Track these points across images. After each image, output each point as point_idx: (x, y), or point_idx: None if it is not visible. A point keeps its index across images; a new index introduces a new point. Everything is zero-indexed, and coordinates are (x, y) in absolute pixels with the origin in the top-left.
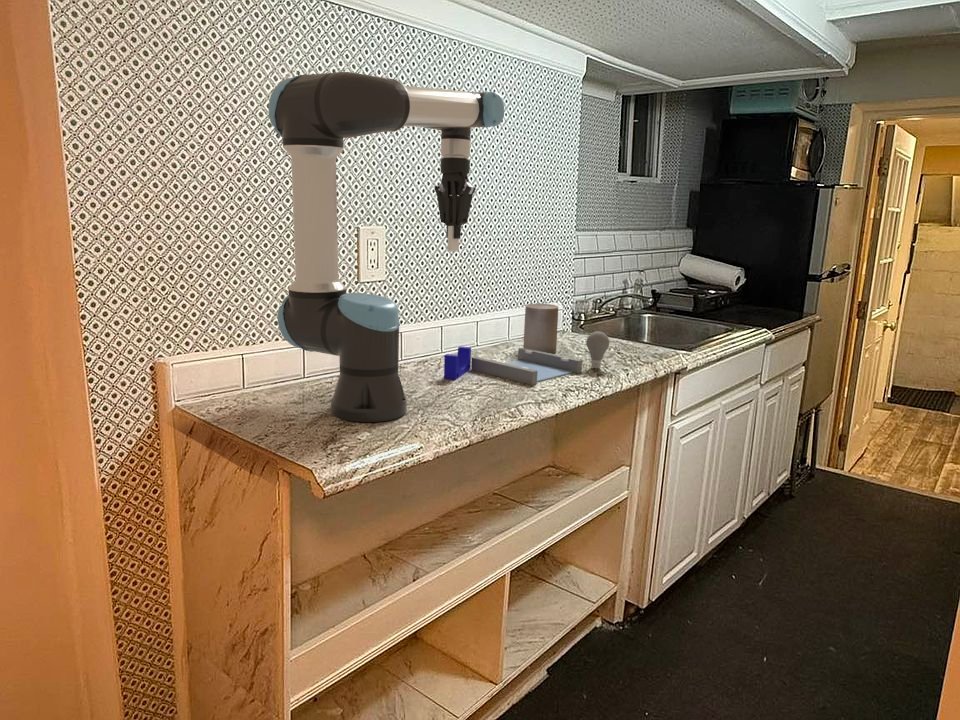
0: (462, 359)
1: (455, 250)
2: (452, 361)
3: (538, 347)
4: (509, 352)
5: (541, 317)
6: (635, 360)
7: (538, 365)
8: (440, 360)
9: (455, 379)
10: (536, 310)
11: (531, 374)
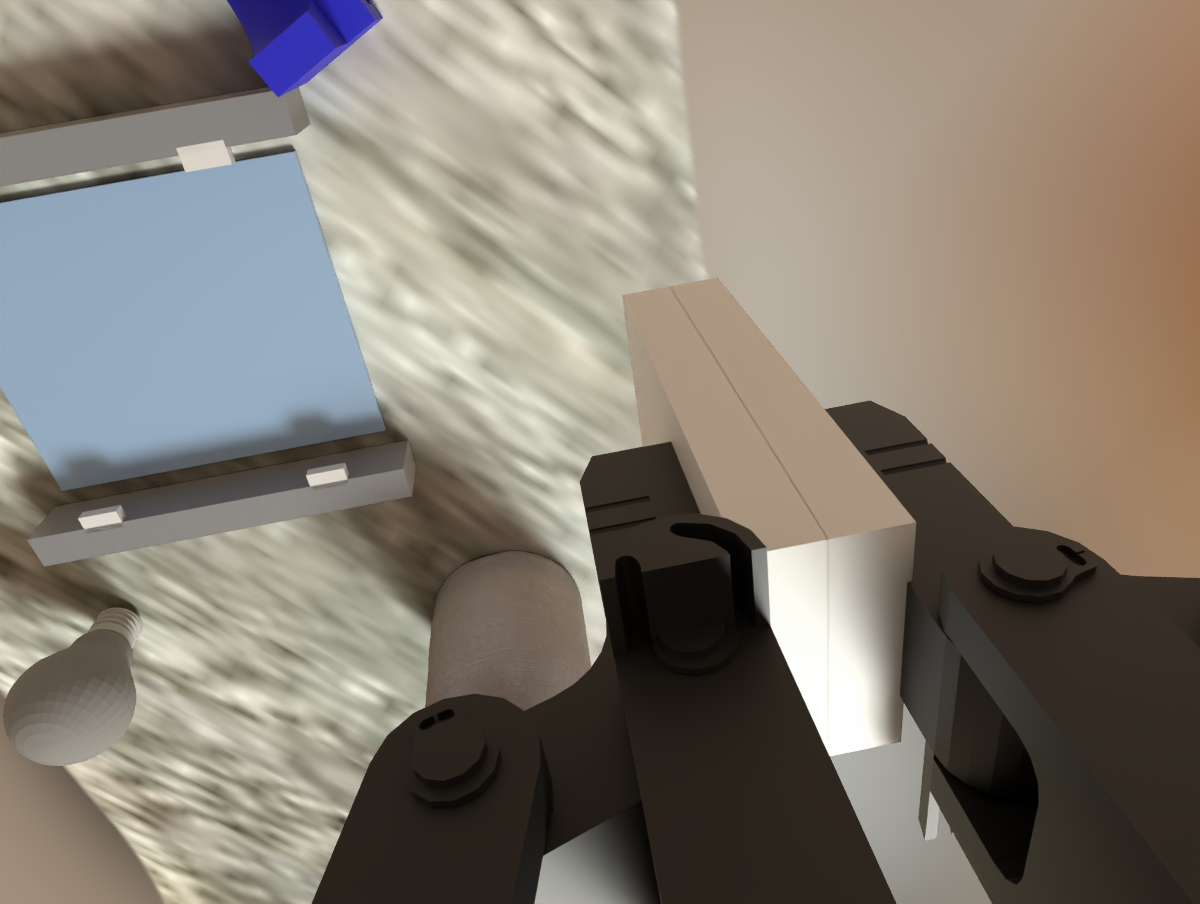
0: (272, 11)
1: (636, 390)
2: None
3: (454, 591)
4: (563, 497)
5: None
6: (208, 803)
7: (236, 439)
8: (584, 68)
9: None
10: None
11: None
